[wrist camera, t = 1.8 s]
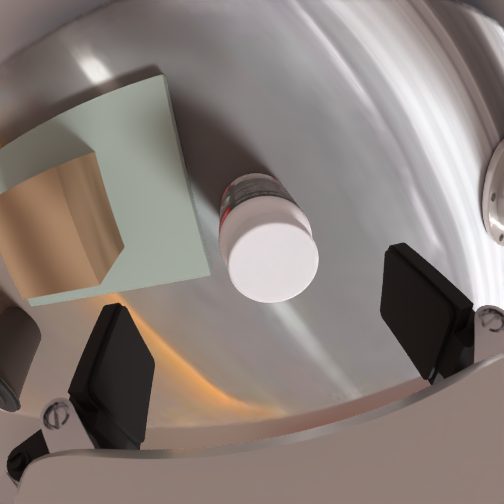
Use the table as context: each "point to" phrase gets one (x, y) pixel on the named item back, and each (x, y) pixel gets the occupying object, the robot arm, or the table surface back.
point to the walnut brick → (59, 230)
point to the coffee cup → (15, 354)
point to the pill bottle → (265, 239)
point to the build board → (124, 182)
